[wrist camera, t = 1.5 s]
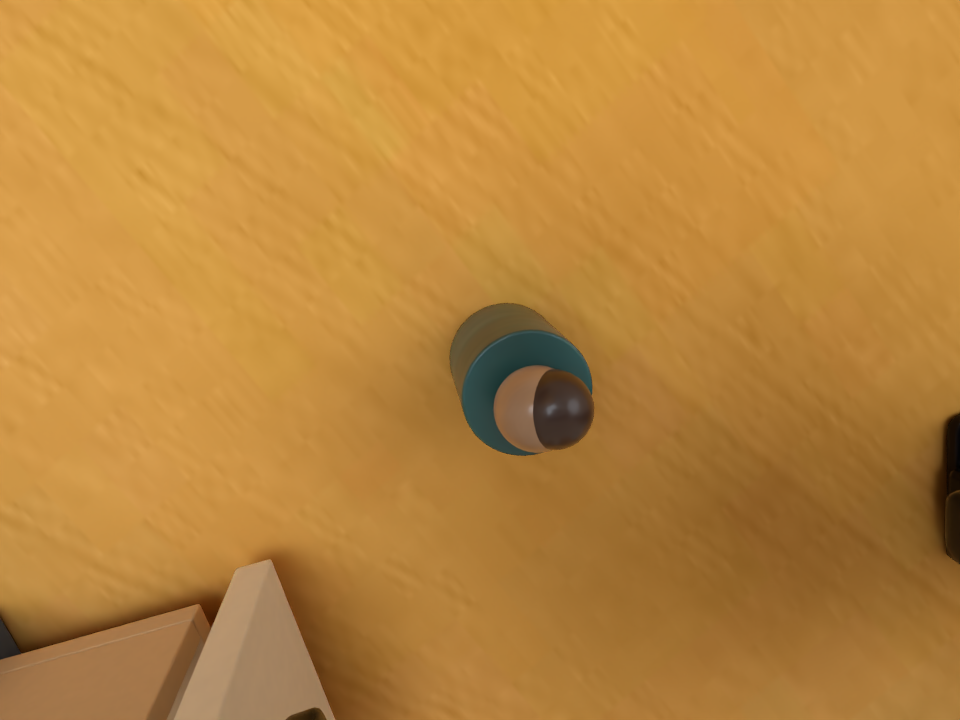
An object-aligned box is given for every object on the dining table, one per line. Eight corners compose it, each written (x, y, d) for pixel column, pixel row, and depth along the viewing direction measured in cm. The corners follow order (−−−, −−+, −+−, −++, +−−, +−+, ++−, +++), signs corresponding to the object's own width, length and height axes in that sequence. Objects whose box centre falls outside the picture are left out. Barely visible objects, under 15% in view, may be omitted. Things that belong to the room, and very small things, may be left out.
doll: (546, 290, 19) (610, 335, 14) (566, 392, 20) (634, 474, 15) (437, 318, 19) (456, 377, 13) (463, 420, 20) (491, 515, 14)
